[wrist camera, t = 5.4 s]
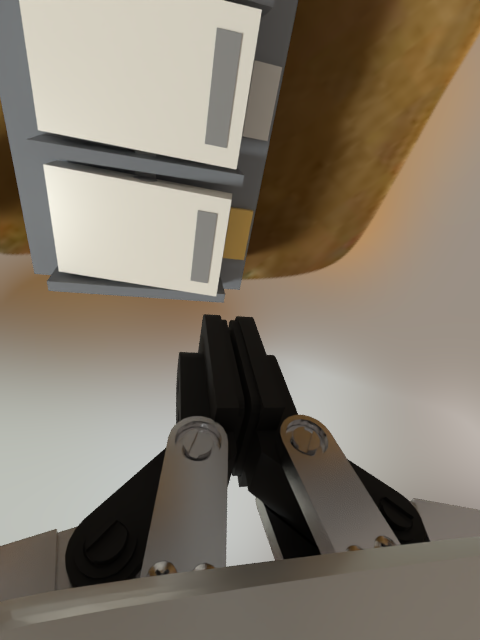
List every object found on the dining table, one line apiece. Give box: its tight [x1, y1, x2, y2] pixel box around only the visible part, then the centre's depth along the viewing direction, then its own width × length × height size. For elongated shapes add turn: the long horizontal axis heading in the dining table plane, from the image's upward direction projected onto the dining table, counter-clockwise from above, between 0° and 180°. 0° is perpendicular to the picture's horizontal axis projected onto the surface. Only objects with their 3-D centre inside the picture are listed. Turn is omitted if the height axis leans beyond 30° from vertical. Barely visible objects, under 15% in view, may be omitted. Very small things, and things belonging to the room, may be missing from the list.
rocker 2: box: [43, 160, 232, 296], centre depth 18 cm, size 6×9×2 cm, turn 79°
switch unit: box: [0, 0, 298, 302], centre depth 16 cm, size 22×13×7 cm, turn 169°
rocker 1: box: [19, 0, 262, 169], centre depth 14 cm, size 6×9×2 cm, turn 79°
